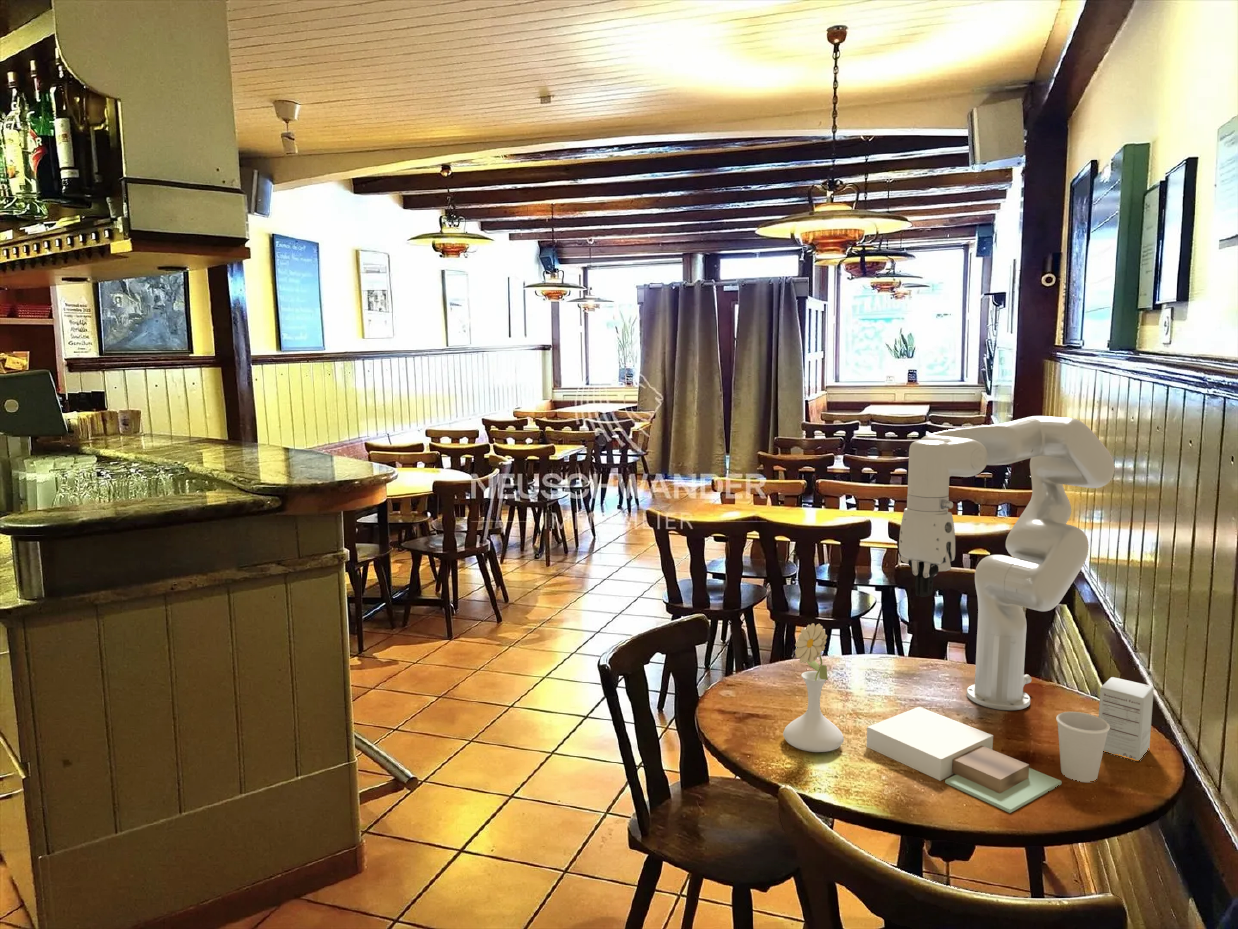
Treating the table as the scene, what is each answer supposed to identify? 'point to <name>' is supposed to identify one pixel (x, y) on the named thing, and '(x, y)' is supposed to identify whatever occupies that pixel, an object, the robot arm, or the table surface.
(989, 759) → the walnut block
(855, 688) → the table surface
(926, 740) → the flat white rectangular box
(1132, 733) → the supplement box
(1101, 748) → the dixie cup
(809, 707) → the flower in vase
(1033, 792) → the green mat
